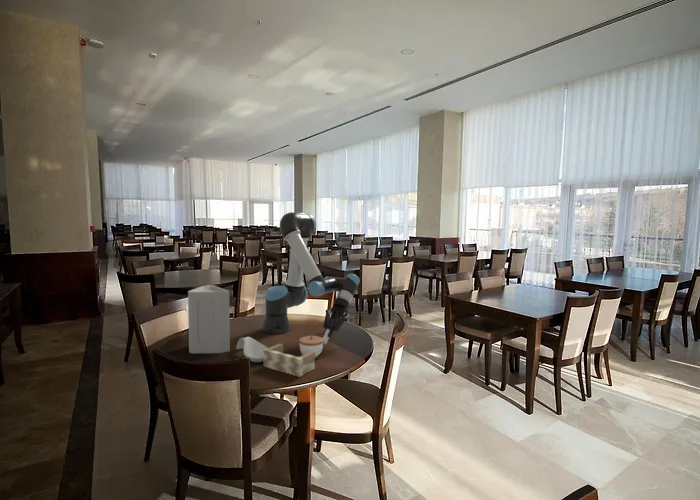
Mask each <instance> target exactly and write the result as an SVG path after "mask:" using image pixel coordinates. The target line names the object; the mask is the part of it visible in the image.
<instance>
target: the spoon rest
mask: <svg viewBox="0 0 700 500" xmlns="http://www.w3.org/2000/svg"><path fill="white" fill-rule="evenodd" d="M267 348H269V347H267V346H266V345H264V344H262V343H261V342H259V341H257V340H256V339H254V338H252V337H251V336H246V337H240V338H239V339H238V340H237V343H236V350H243V356H244V357H245V358H246V359H247V358H249V359H250V361H249V362H252V363H261V362H262V363H263V362H264V350H265V349H267Z"/></svg>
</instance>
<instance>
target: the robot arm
mask: <svg viewBox="0 0 700 500" xmlns="http://www.w3.org/2000/svg"><path fill="white" fill-rule="evenodd" d="M316 227H317V221H316V219H315V217H314V215H312V214H311V213H308V212H292V211H291V212H290V211H289V212H287V213H285V214H284V215H282V217H281V219H280V221H279V230H280V234H281V236H282V238H283V241H286V242H287V244H288V245H289V247H290V253H289V254H290V255H289V261H288V262H289V263H288V272H287V279H286V280H285V281H284V284H283V285H276V286H275V285H274V286H271V287H268V288H267V289H266V290H265V317H264V321H263V324H262V329H261V330H262V331H263V332H264V333H267V334H274V335H275V334H283V333H288V332H290V331H291V324H290V320H289V317H288V309H290V308H293V307H298V306H300V305H302V304H304V303H305V302H306V301H307V299H308V294H310V295H311V296H313V297H321V296H323V295H326V294H330V293H334V292H338V293H337V295H336V298H335V300H334V302H333V304H332V307H331V308H330V309H326V310H325V316H324V320H323V325H322V327H323V328H324V329H325V330H324V332H323V334H322V335H323V336H322V338H323V345H327V343H328V341H329V339H330V338H331V337H332V336H333V333H334V332H339V330H340V329H341V327H342V326H343V325H344V323H345V321H346V320H347V319H349V317H350V315H349V314H348V313H347V311H348V310H349V307H350V305H351V302H352V300H353V297H354V295H355V293H356V291H357V289H358V287H359V284H360V281H361V280H360V277H359V276H358V275H356V274H353V273H348V274H347V275H346V276H345V277H337V276H325V277H323V275H322V273H321V271H320V269H319V268H318V266H317V264H316V262H315V260H314V258H313V256H312V254H311V253H310V250H309V248H308V247H307V246H308V241H309V240H310V239H311V237H312V234H313V233H314V231H315V230H316ZM304 276H305V277H306V279H307V281H308V283H309V284H308V286H307V287H306V286H305V285H306V284H305V282H304V281H303V280H304Z"/></svg>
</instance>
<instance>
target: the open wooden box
mask: <svg viewBox="0 0 700 500" xmlns="http://www.w3.org/2000/svg"><path fill="white" fill-rule="evenodd" d="M315 360H316V358H315V352H312V351H310V352H308V353H306V354H304V355H303V354H301V356H295V355H292V354H290V353H284V344H283V343H277V344H275V345H273V346H270V347H268V348H267V349H265V350H264V361H263V367H265V368H268V369H271V370H275V371H277V372H282V373H284V372H285V374H288V373H289V374H288V375H291V374H292V375H291V376H296V377H298V378H300V377H303V376H304V375H305V374H308V373H309V372H311V371H313V370H315V367H316V366H315ZM307 372H308V373H307Z"/></svg>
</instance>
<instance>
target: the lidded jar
mask: <svg viewBox="0 0 700 500" xmlns="http://www.w3.org/2000/svg"><path fill="white" fill-rule="evenodd" d="M298 343H299V350H300V352H301V355H304V354H306V353H308V352H310V351H312V352H315V359H316V358H318V357H319V356H320V354H321V353H322V351H323V347H324V346H323V345H324V343H323V337H321V336H318V335H305V336H302V337H300V338H299V340H298Z"/></svg>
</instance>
